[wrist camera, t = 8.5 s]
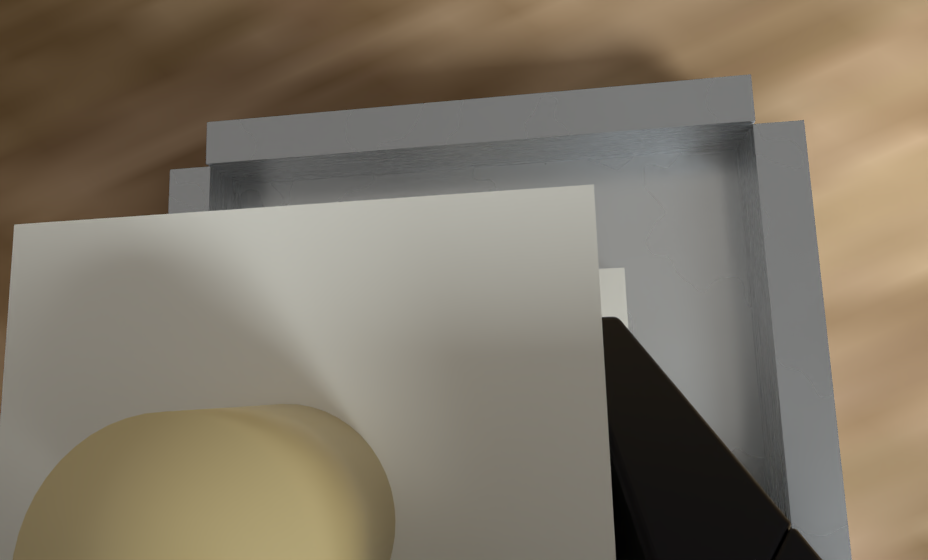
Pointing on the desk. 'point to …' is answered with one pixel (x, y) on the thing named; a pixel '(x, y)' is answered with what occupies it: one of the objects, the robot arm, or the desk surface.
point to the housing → (312, 383)
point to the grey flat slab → (617, 238)
